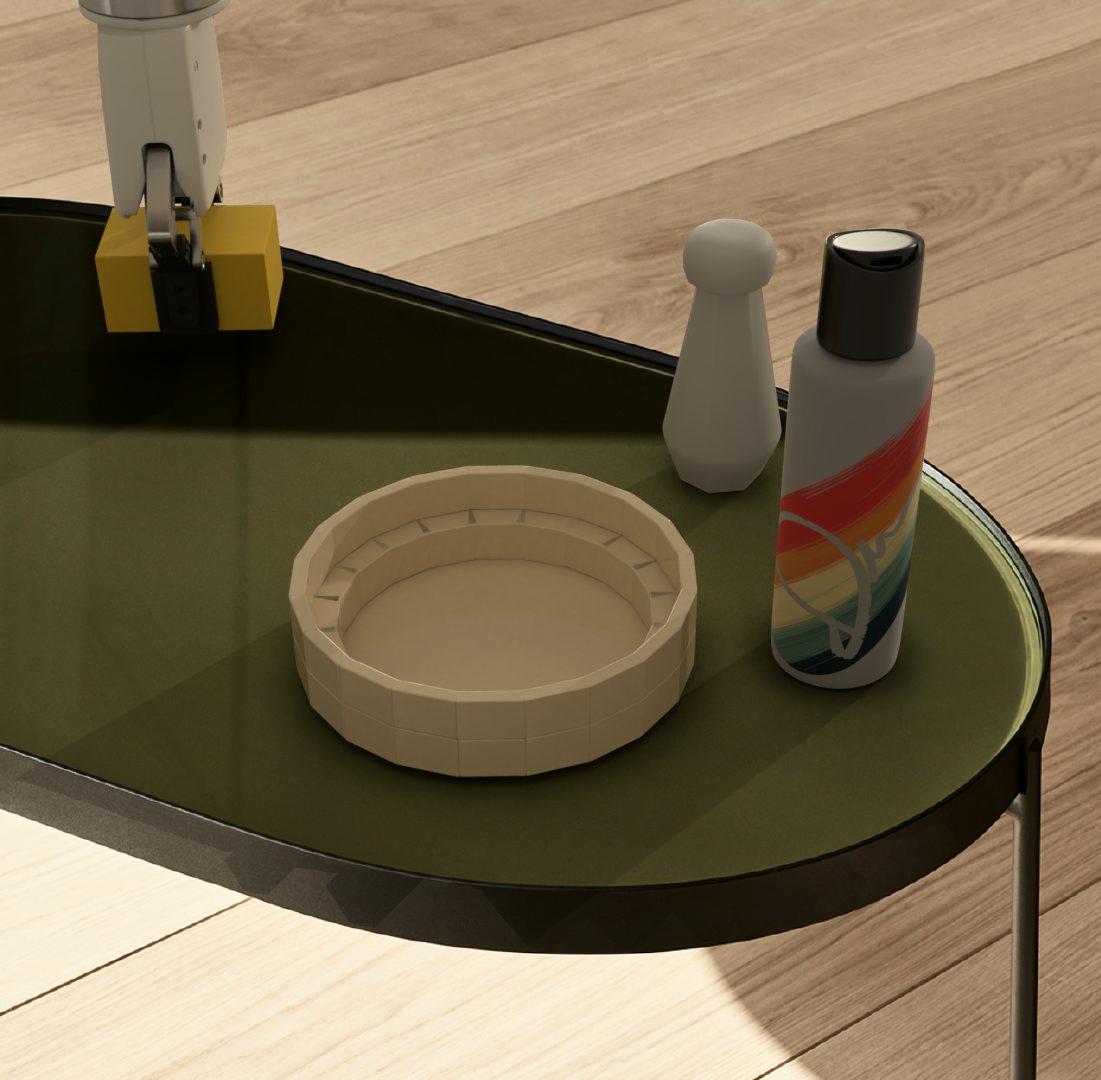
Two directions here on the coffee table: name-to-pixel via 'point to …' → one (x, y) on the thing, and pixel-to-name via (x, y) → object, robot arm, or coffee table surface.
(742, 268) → the salt shaker
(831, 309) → the striped bottle
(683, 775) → the coffee table surface
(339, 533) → the bowl
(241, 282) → the sponge
